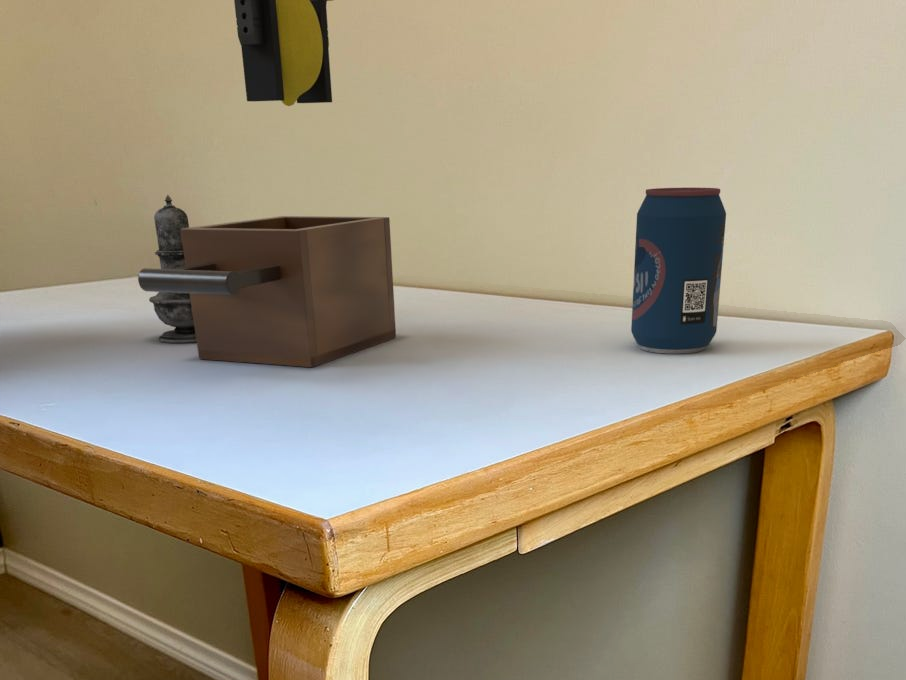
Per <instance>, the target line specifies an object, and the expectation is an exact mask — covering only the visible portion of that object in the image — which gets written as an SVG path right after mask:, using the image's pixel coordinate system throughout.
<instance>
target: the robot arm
mask: <svg viewBox="0 0 906 680" xmlns="http://www.w3.org/2000/svg"><path fill="white" fill-rule="evenodd" d="M233 1H234V12H235V19H236V20H235V22H236V30H237V31H236V32H237V38H238V41H239V44H240V46H241V57H242V66H243V75H244V76H243V77H244V85H245V95H246V102H282V101H283V100H284V89H283V78H282V67H281V55H280V44H279V33H278V22H277V10H276V0H233ZM309 1H310V2H311V4H312V5H313V7H314V9H315V12H316V14H317V17H318V21H319V24H320V29H321V34H322V42H323V58H322V65H321V70H320V73H319V75H318V78H317V80H316V81H315V83H314V84H313V86H312V87H311V88H310V89H309V90H307V91H306V92H304V93H303V94H301V95H300V96H299V97H298V99H297V100H296V104H322V103H323V104H324V103H325V104H327V103H333V94H332V93H333V92H332V78H331V77H332V76H331V65H330V63H331V62H330V51H329V47H330V40H329V26H328V25H329V24H328V11H327V3H328V2H331V1H333V0H309Z"/></svg>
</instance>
